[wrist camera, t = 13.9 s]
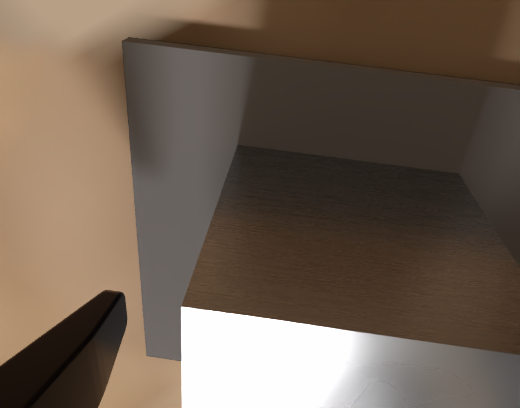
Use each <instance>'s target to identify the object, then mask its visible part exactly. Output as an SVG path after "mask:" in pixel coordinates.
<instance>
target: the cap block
mask: <svg viewBox="0 0 520 408" xmlns="http://www.w3.org/2000/svg"><path fill="white" fill-rule="evenodd" d="M181 347H182V408H520V268H519V266H518V265H517V263H516V262H515V260H514V258H513V257H512V255H511V254H510V252H509V251H508V249H507V248H506V246H505V244H504V243H503V241H502V240H501V238H500V237H499V235H498V234H497V232H496V230H495V229H494V227H493V226H492V224H491V223H490V221H489V220H488V218H487V216H486V215H485V213H484V212H483V210H482V209H481V207H480V206H479V204H478V202H477V201H476V199H475V198H474V196H473V195H472V193H471V192H470V190H469V188H468V187H467V185H466V184H465V182H464V181H463V179H462V178H461V176H460V175H459V173H451V172H444V171H436V170H428V169H421V168H413V167H405V166H398V165H390V164H382V163H375V162H367V161H359V160H351V159H344V158H336V157H328V156H321V155H313V154H305V153H298V152H290V151H282V150H275V149H267V148H259V147H252V146H244V145H237V148H236V151H235V154H234V156H233V159H232V162H231V165H230V168H229V171H228V174H227V177H226V179H225V182H224V185H223V188H222V191H221V194H220V197H219V199H218V202H217V205H216V208H215V211H214V214H213V217H212V220H211V222H210V225H209V228H208V231H207V234H206V237H205V240H204V243H203V245H202V248H201V251H200V254H199V257H198V260H197V263H196V265H195V268H194V271H193V274H192V277H191V280H190V283H189V286H188V288H187V291H186V294H185V297H184V300H183V303H182V306H181Z"/></svg>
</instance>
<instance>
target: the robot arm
mask: <svg viewBox="0 0 520 408" xmlns="http://www.w3.org/2000/svg"><path fill="white" fill-rule="evenodd" d="M126 325H127V311H126V302H125V295H124V294H123V293H122V292H118V291H111V290H105V291H102V292H101V293H100V294H98V295H97V296H95V297H94V298H93V299H91V300H90V301H89V302H87V303H86V304H84V305H83V306H82V307H80V308H79V309H78V310H76V311H75V312H74V313H72V314H71V315H69V316H68V317H67V318H65V319H64V320H63V321H61V322H60V323H58V324H57V325H56V326H54V327H53V328H52V329H50V330H49V331H47V332H46V333H45V334H43V335H42V336H41V337H39V338H38V339H36V340H35V341H34V342H32V343H31V344H30V345H28V346H27V347H26V348H24V349H23V350H21V351H20V352H19V353H17V354H16V355H15V356H13V357H12V358H10V359H9V360H8V361H6V362H5V363H4V364H2V365H1V366H0V408H98V406H99V404H100V402H101V399H102V397H103V395H104V392H105V389H106V386H107V383H108V380H109V377H110V374H111V371H112V368H113V365H114V362H115V359H116V356H117V353H118V350H119V347H120V344H121V341H122V338H123V335H124V332H125V329H126Z"/></svg>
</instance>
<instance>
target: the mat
mask: <svg viewBox="0 0 520 408" xmlns="http://www.w3.org/2000/svg"><path fill="white" fill-rule="evenodd" d="M122 49H123V62H124V74H125V87H126V100H127V113H128V125H129V138H130V151H131V164H132V176H133V189H134V202H135V215H136V227H137V240H138V253H139V266H140V278H141V291H142V304H143V317H144V329H145V342H146V355H147V356H150V357H156V358H163V359H170V360H177V361H182V347H181V306H182V303H183V300H184V297H185V294H186V291H187V288H188V286H189V283H190V280H191V277H192V274H193V271H194V268H195V265H196V263H197V260H198V257H199V254H200V251H201V248H202V245H203V243H204V240H205V237H206V234H207V231H208V228H209V225H210V222H211V220H212V217H213V214H214V211H215V208H216V205H217V202H218V199H219V197H220V194H221V191H222V188H223V185H224V182H225V179H226V177H227V174H228V171H229V168H230V165H231V162H232V159H233V156H234V154H235V151H236V148H237V145H244V146H252V147H259V148H267V149H275V150H282V151H290V152H298V153H305V154H313V155H321V156H328V157H336V158H344V159H351V160H359V161H367V162H375V163H382V164H390V165H398V166H405V167H413V168H421V169H428V170H436V171H444V172H451V173H459V175H460V176H461V178H462V179H463V181H464V182H465V184H466V185H467V187H468V188H469V190H470V192H471V193H472V195H473V196H474V198H475V199H476V201H477V202H478V204H479V206H480V207H481V209H482V210H483V212H484V213H485V215H486V216H487V218H488V220H489V221H490V223H491V224H492V226H493V227H494V229H495V230H496V232H497V234H498V235H499V237H500V238H501V240H502V241H503V243H504V244H505V246H506V248H507V249H508V251H509V252H510V254H511V255H512V257H513V258H514V260H515V262H516V263H517V265H518V266H519V268H520V85H514V84H506V83H497V82H489V81H481V80H473V79H465V78H457V77H448V76H440V75H432V74H424V73H416V72H408V71H400V70H391V69H383V68H375V67H367V66H359V65H351V64H342V63H334V62H326V61H318V60H310V59H302V58H294V57H285V56H277V55H269V54H261V53H253V52H245V51H236V50H228V49H220V48H212V47H204V46H196V45H188V44H179V43H171V42H163V41H155V40H147V39H139V38H130V37H129V38H127V39H125V40H123V41H122Z"/></svg>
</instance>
